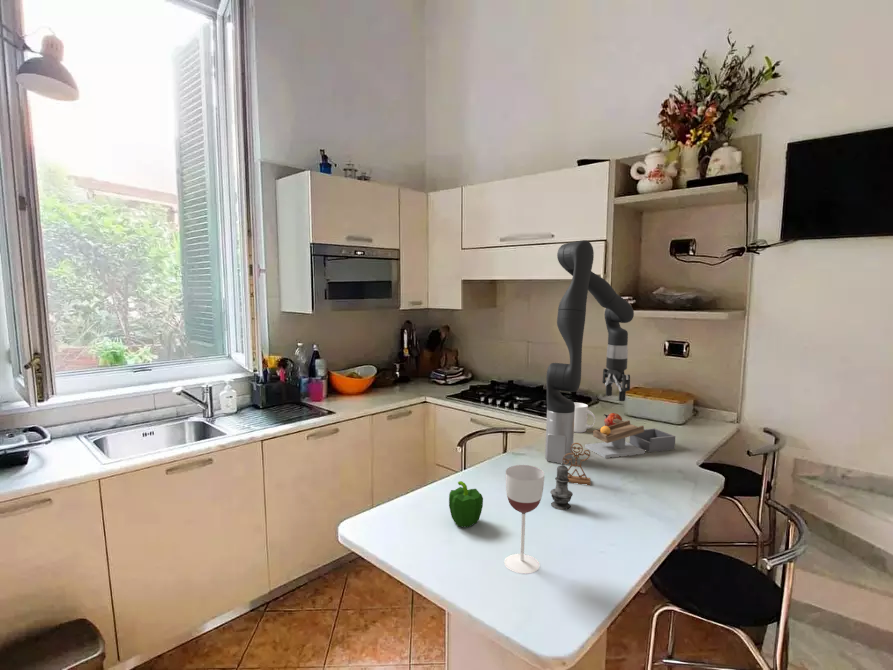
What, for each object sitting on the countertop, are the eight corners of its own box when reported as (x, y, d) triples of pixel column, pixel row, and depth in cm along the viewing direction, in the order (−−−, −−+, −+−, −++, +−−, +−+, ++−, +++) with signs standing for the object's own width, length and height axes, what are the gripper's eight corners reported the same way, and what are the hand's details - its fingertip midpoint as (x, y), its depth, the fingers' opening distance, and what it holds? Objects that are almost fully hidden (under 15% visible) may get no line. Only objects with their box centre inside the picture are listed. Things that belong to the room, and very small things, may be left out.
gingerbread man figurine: (559, 481, 148) (561, 443, 147) (560, 477, 152) (562, 439, 151) (590, 485, 146) (592, 446, 145) (590, 480, 150) (592, 442, 149)
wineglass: (498, 570, 101) (501, 476, 99) (508, 549, 109) (511, 462, 107) (536, 578, 98) (540, 483, 96) (544, 556, 106) (547, 468, 105)
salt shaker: (568, 512, 128) (570, 468, 127) (546, 506, 131) (548, 463, 130) (575, 504, 133) (576, 461, 132) (554, 499, 136) (555, 457, 135)
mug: (591, 435, 196) (592, 409, 195) (562, 430, 202) (563, 405, 201) (597, 430, 203) (598, 405, 202) (569, 425, 210) (570, 401, 209)
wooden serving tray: (644, 431, 177) (643, 425, 176) (607, 443, 172) (606, 436, 172) (617, 421, 191) (616, 414, 190) (582, 431, 186) (581, 424, 186)
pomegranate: (618, 432, 208) (600, 416, 211) (630, 421, 205) (611, 405, 208) (616, 439, 202) (596, 422, 204) (628, 427, 199) (608, 411, 201)
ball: (609, 437, 174) (609, 427, 174) (599, 436, 175) (599, 426, 175) (611, 434, 177) (611, 425, 177) (601, 433, 179) (601, 424, 178)
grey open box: (674, 449, 181) (675, 436, 180) (649, 452, 177) (650, 438, 176) (653, 440, 191) (654, 428, 190) (629, 443, 187) (630, 430, 186)
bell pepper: (487, 528, 119) (488, 488, 118) (454, 532, 116) (455, 492, 115) (475, 513, 127) (476, 476, 126) (444, 517, 124) (445, 479, 123)
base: (644, 453, 175) (645, 438, 175) (605, 458, 170) (606, 442, 169) (622, 443, 187) (623, 429, 186) (584, 447, 181) (585, 433, 181)
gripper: (637, 359, 179) (635, 402, 181) (614, 353, 192) (612, 393, 194) (619, 360, 177) (617, 403, 179) (597, 353, 190) (596, 394, 192)
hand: (615, 398), depth 186 cm, fingers open, 8 cm apart
